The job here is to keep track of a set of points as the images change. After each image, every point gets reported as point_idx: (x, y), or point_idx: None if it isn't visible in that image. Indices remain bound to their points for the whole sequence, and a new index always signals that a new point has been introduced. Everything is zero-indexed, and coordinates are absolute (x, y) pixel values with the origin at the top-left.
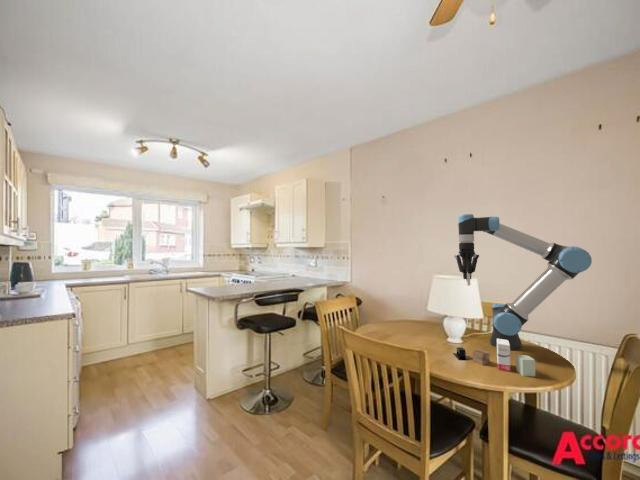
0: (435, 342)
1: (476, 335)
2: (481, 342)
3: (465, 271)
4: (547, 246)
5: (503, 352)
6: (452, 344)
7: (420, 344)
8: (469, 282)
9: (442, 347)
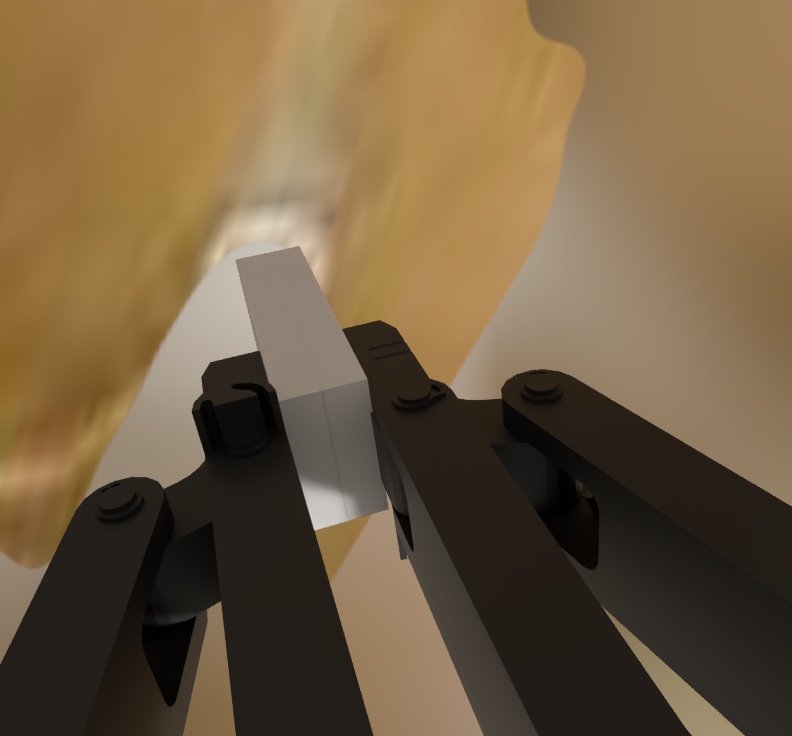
0: (430, 201)
1: (45, 421)
2: (49, 247)
3: (445, 411)
4: None
5: None
6: (314, 167)
7: (554, 141)
8: (260, 281)
9: (416, 84)
